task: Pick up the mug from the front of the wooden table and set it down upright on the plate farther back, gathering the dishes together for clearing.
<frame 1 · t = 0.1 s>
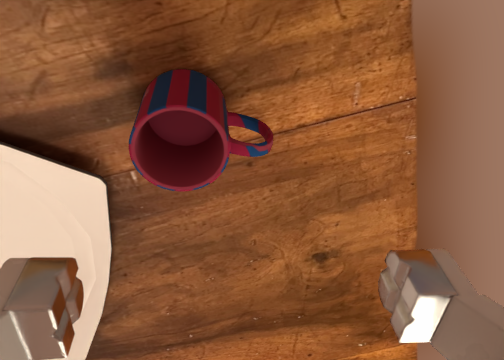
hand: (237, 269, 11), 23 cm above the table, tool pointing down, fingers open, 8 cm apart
mug: (204, 111, 34), on the table
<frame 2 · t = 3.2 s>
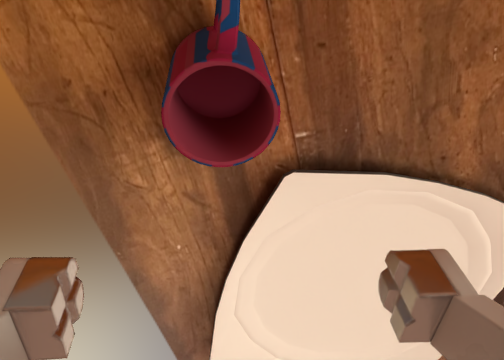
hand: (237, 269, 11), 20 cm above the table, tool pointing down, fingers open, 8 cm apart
plate: (358, 281, 43), on the table
mug: (222, 50, 28), on the table
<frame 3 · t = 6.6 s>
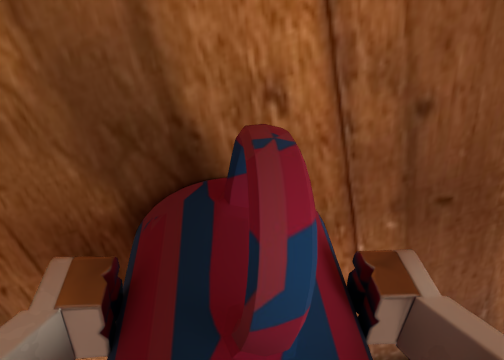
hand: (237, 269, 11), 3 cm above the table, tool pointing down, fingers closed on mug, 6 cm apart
mug: (241, 215, 13), on the table, touching gripper
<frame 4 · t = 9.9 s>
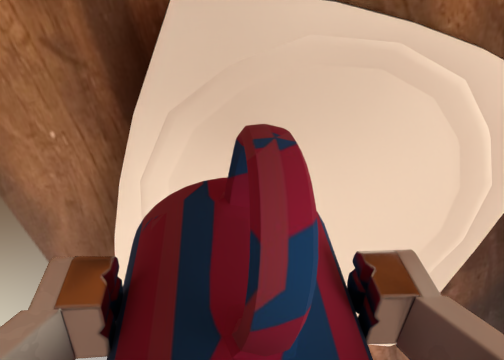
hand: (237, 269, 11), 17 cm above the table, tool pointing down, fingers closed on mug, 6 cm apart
plate: (312, 199, 32), on the table
mug: (242, 214, 13), point 14 cm above the table, touching gripper
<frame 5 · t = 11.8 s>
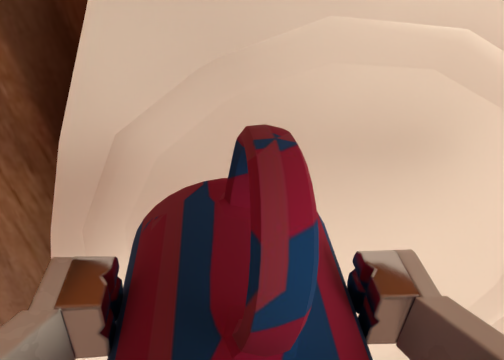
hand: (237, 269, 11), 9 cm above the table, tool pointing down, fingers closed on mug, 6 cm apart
plate: (326, 246, 24), on the table
mug: (242, 215, 13), point 6 cm above the table, touching gripper
when the fingers open (5 cm above the table, at t = 13.3 s): mug stays where it is, resting on plate.
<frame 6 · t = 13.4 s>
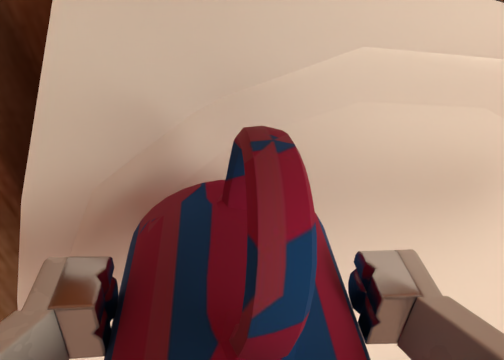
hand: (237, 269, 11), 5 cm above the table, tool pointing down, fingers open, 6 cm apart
plate: (344, 300, 20), on the table, touching mug
mug: (240, 217, 13), point 2 cm above the table, touching plate
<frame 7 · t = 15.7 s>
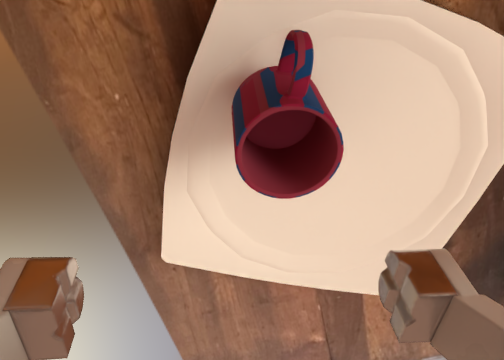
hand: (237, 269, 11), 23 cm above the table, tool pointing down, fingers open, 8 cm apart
plate: (332, 158, 37), on the table, touching mug
mug: (281, 87, 30), point 2 cm above the table, touching plate
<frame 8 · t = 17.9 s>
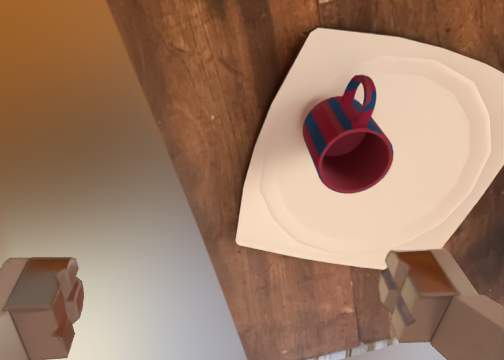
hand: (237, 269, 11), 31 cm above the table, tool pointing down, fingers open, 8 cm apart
plate: (370, 162, 47), on the table, touching mug
mug: (340, 111, 40), point 2 cm above the table, touching plate
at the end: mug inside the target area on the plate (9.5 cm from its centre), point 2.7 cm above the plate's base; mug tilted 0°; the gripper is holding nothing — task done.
